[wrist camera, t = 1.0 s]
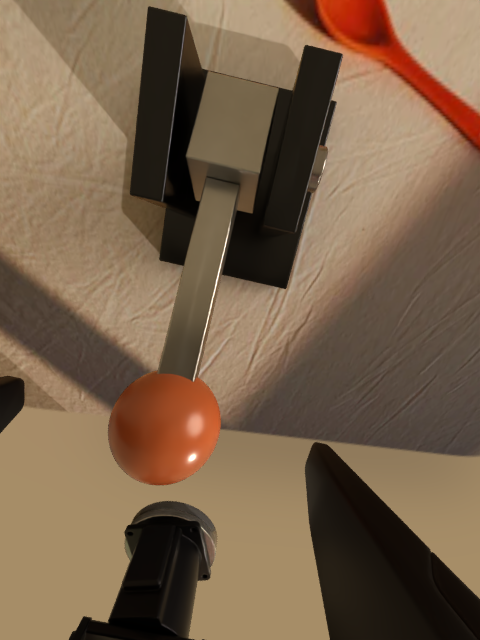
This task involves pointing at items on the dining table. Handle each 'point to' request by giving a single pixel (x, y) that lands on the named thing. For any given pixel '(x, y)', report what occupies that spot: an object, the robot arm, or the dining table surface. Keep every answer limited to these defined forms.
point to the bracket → (280, 163)
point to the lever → (196, 289)
